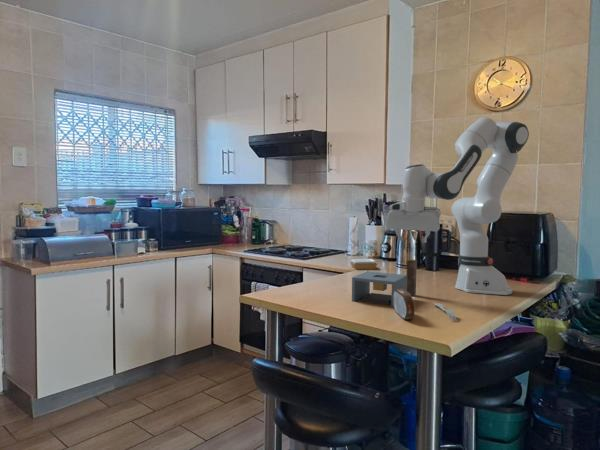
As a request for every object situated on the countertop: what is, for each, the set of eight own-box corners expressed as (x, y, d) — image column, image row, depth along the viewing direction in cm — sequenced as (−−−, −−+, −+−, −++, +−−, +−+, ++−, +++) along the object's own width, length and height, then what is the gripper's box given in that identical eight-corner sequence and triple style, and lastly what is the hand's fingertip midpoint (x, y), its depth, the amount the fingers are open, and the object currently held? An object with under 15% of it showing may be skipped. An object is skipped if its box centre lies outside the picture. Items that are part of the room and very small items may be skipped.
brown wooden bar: (415, 295, 178) (416, 260, 177) (413, 296, 175) (414, 261, 174) (408, 294, 179) (409, 259, 178) (406, 295, 176) (407, 260, 176)
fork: (440, 310, 161) (440, 303, 161) (458, 321, 140) (458, 312, 140) (432, 310, 161) (432, 302, 161) (449, 321, 140) (449, 312, 140)
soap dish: (372, 267, 246) (372, 258, 245) (377, 270, 236) (377, 261, 236) (349, 268, 244) (349, 258, 244) (354, 271, 234) (354, 261, 234)
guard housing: (406, 298, 172) (407, 275, 171) (394, 307, 158) (394, 281, 157) (367, 293, 180) (367, 271, 179) (351, 301, 166) (352, 277, 165)
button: (386, 289, 169) (387, 281, 169) (383, 291, 166) (383, 282, 166) (376, 287, 171) (376, 280, 171) (373, 289, 168) (373, 281, 168)
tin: (414, 322, 139) (415, 296, 138) (405, 323, 139) (405, 296, 138) (400, 310, 154) (401, 286, 153) (391, 310, 154) (391, 286, 153)
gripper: (442, 207, 172) (440, 242, 173) (390, 205, 182) (389, 239, 183) (438, 207, 167) (437, 244, 168) (385, 205, 177) (384, 240, 178)
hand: (411, 241), depth 176 cm, fingers open, 8 cm apart
